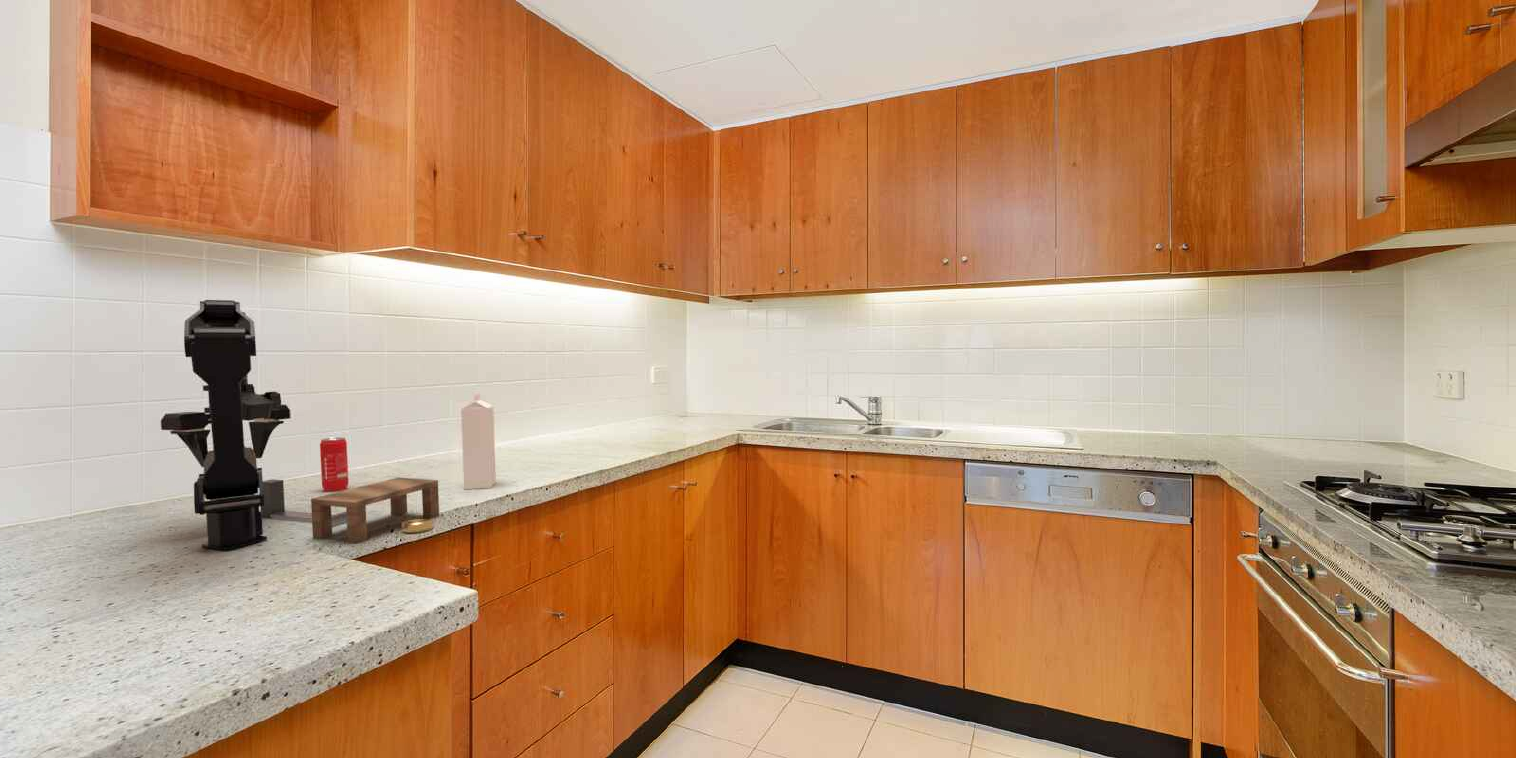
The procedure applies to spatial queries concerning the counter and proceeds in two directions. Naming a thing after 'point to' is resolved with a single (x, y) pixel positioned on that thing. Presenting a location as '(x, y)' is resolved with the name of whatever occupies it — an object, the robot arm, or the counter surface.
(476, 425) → the milk
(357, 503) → the walnut bench
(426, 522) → the brass token
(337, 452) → the beverage can
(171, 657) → the counter surface
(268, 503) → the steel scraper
